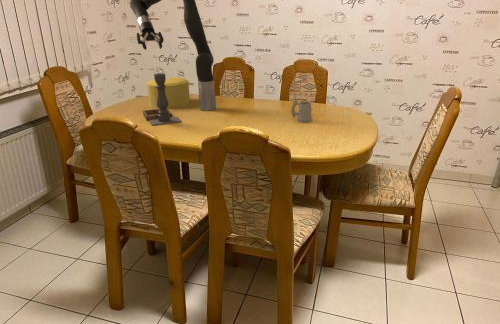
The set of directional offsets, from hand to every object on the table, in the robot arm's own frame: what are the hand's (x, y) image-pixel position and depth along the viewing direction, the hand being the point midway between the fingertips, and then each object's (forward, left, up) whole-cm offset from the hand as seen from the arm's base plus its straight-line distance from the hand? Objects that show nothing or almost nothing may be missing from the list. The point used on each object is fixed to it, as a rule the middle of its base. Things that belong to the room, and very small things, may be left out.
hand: (153, 48), depth 210 cm
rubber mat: (+1, +21, -37) cm, 42 cm away
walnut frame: (+3, +8, -37) cm, 38 cm away
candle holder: (+2, +21, -36) cm, 42 cm away
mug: (-67, +51, -37) cm, 92 cm away
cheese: (-10, -20, -37) cm, 43 cm away
